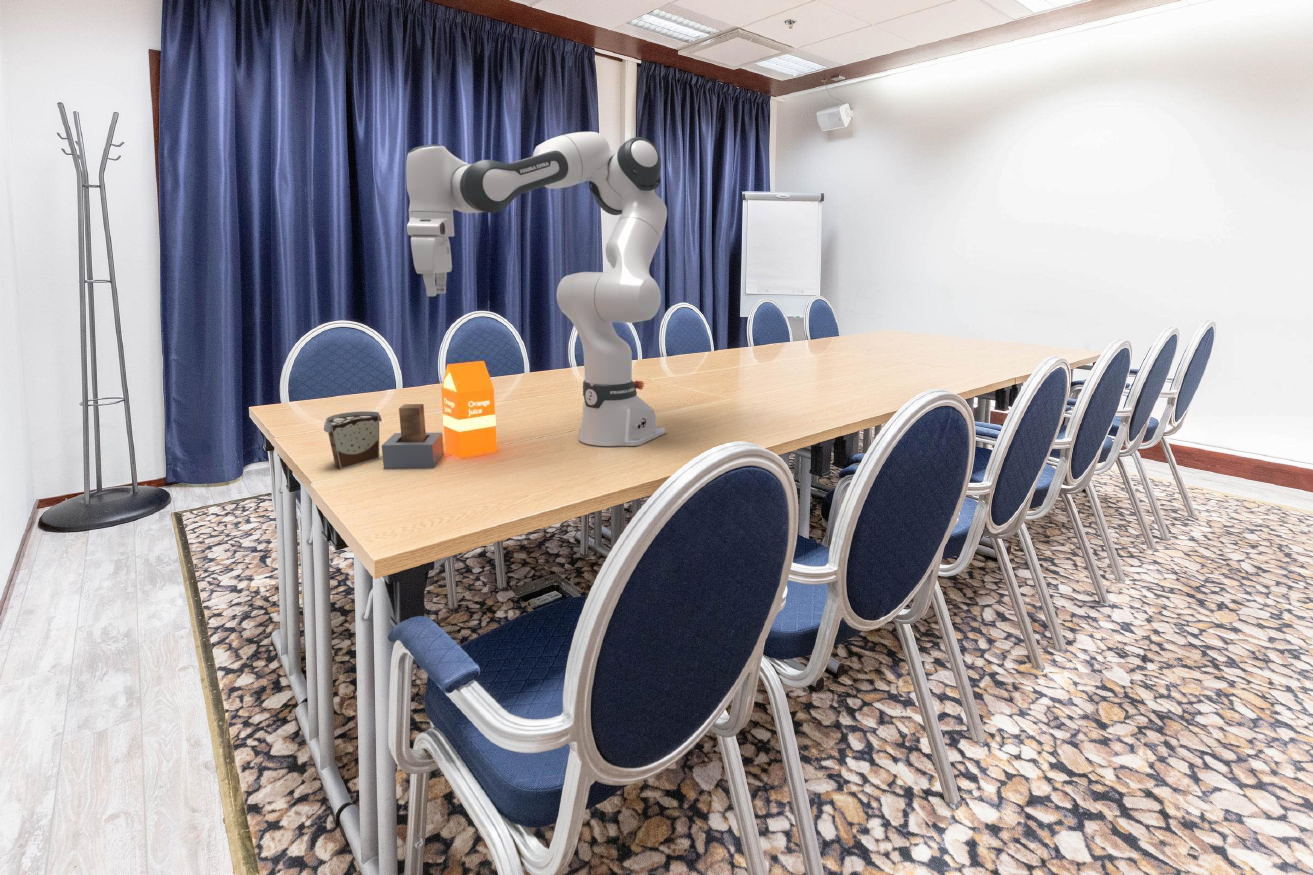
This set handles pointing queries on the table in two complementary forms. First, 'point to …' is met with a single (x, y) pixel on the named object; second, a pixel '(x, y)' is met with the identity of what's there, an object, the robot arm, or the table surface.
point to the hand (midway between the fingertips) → (436, 295)
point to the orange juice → (468, 410)
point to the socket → (412, 452)
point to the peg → (412, 423)
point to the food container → (353, 437)
